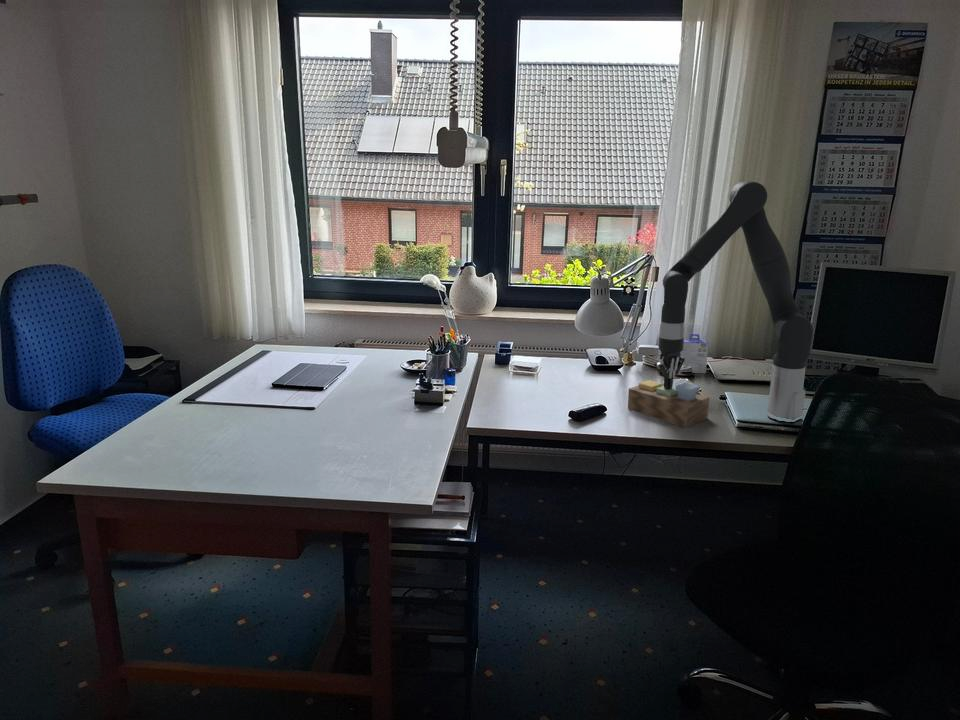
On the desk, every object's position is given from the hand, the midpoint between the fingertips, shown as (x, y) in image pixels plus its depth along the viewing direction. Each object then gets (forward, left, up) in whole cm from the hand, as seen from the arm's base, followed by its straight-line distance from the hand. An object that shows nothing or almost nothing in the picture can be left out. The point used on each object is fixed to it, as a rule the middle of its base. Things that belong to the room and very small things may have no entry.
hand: (668, 388), depth 211 cm
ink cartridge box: (+22, -46, -9) cm, 52 cm away
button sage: (0, 0, -7) cm, 7 cm away
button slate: (-7, 0, -5) cm, 8 cm away
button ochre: (+7, 0, -7) cm, 10 cm away
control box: (0, 0, -9) cm, 9 cm away
